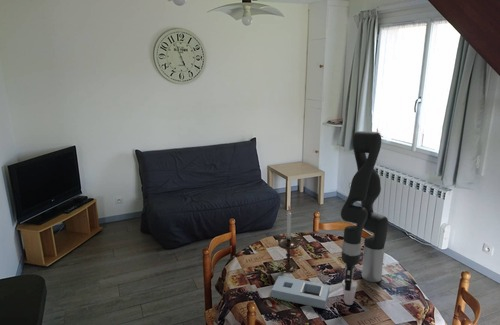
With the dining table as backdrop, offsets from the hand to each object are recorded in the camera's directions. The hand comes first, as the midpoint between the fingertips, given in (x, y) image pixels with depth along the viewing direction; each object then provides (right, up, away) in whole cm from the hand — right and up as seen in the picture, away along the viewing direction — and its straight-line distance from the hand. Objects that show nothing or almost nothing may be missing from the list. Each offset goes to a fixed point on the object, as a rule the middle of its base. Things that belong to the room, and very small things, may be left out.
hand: (348, 284), depth 149 cm
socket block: (-20, -7, +7) cm, 22 cm away
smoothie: (+1, -9, +2) cm, 9 cm away
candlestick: (-23, -2, +30) cm, 38 cm away
